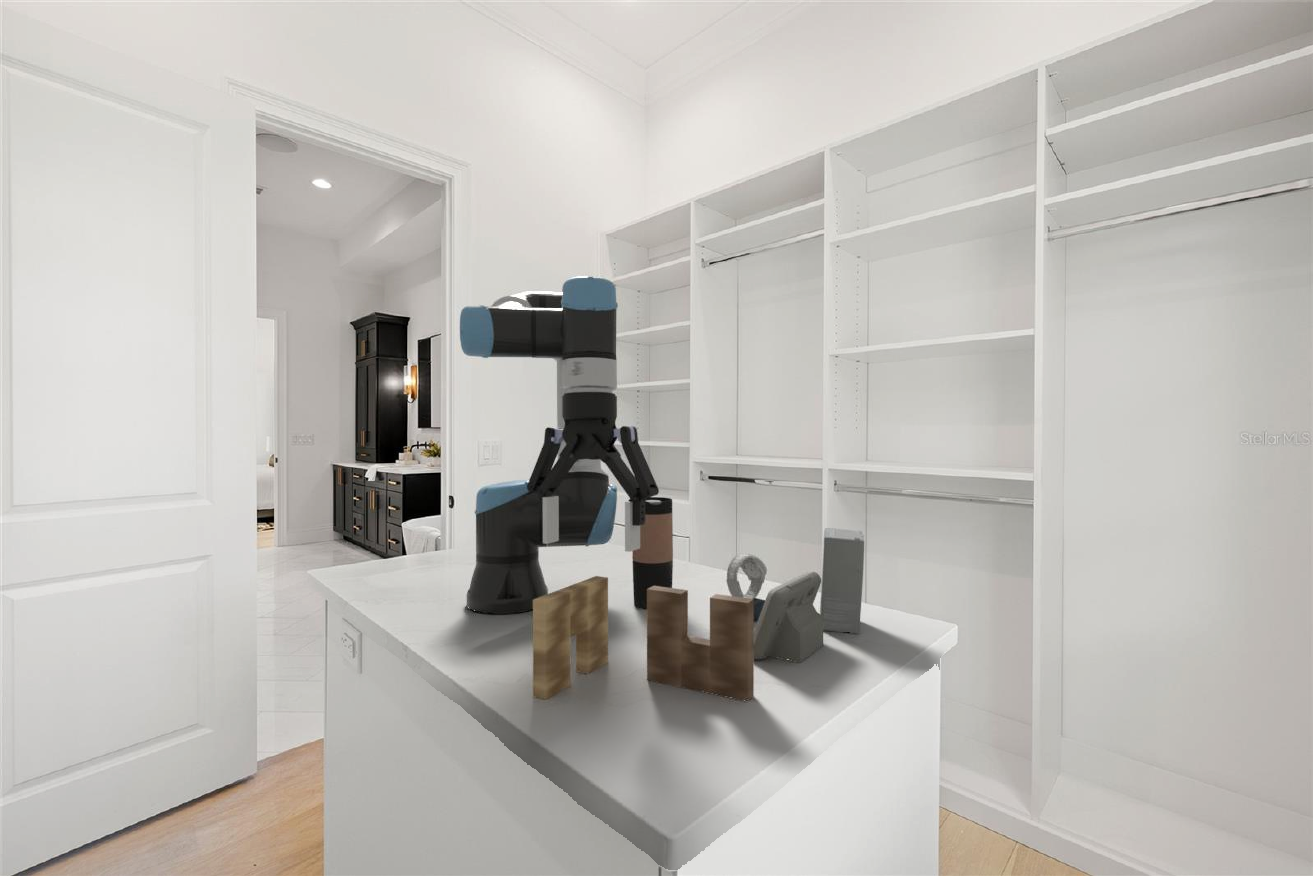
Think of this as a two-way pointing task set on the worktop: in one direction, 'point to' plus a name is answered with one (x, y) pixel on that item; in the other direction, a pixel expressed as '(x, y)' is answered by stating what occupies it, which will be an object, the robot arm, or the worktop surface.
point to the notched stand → (701, 644)
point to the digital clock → (790, 621)
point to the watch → (754, 573)
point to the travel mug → (653, 550)
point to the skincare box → (842, 580)
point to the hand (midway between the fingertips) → (590, 546)
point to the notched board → (569, 634)
